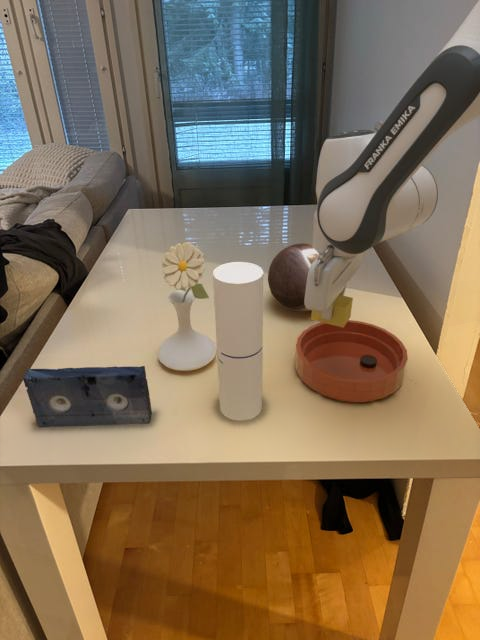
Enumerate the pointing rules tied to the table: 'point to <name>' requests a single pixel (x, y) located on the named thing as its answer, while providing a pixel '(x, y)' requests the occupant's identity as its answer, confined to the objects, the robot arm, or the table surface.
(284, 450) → the table surface
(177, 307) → the flower in vase
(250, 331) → the cylindrical container
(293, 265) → the wooden sphere
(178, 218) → the table surface
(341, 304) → the sponge
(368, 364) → the dark grey flat disc
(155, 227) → the table surface
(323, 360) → the bowl
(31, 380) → the vhs cassette tape
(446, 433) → the table surface
